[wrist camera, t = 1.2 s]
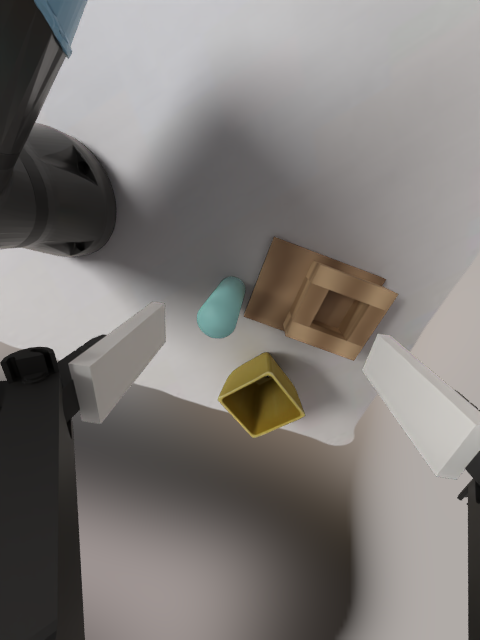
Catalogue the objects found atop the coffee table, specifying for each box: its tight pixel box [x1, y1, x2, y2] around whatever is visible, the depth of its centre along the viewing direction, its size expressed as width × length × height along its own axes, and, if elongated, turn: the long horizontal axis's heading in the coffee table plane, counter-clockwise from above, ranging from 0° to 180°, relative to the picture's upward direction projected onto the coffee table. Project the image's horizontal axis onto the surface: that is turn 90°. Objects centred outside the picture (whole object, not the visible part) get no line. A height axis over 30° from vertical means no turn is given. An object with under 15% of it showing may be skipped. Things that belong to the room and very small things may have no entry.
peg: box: [197, 277, 245, 338], centre depth 28 cm, size 4×4×12 cm
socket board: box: [244, 237, 398, 361], centre depth 30 cm, size 16×12×5 cm
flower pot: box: [218, 352, 305, 438], centre depth 34 cm, size 9×9×9 cm
